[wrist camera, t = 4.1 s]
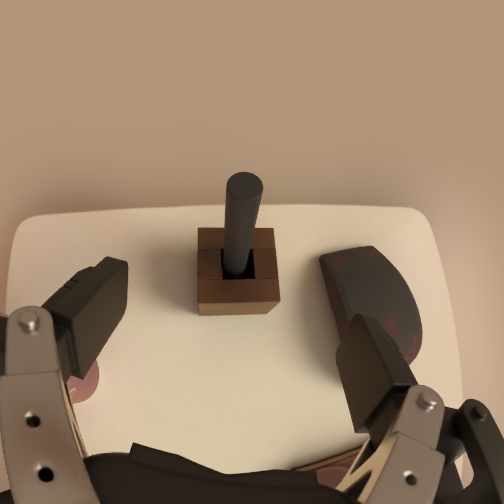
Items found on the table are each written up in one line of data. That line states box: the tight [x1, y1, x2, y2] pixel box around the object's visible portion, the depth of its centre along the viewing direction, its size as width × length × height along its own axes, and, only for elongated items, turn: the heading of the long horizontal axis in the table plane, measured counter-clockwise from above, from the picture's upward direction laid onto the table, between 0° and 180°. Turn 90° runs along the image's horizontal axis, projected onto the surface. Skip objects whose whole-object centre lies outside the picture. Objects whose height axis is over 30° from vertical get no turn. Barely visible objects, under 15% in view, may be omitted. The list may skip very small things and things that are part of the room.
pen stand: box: [198, 228, 280, 316], centre depth 25 cm, size 6×6×5 cm
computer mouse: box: [319, 246, 422, 366], centre depth 26 cm, size 8×14×4 cm, turn 14°
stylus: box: [222, 172, 263, 279], centre depth 21 cm, size 2×2×14 cm
